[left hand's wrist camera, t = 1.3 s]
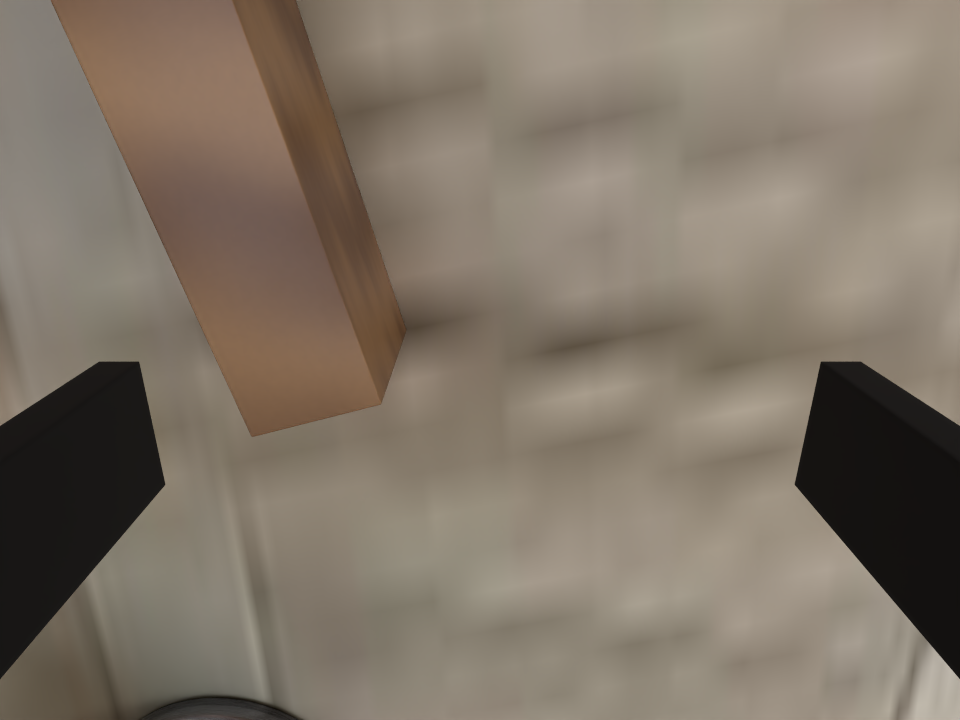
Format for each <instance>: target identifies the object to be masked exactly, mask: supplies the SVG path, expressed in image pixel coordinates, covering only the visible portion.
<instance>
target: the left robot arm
mask: <svg viewBox="0 0 960 720" xmlns="http://www.w3.org/2000/svg"><path fill="white" fill-rule="evenodd" d="M164 486H165V481H164V476H163V472H162V467H161V462H160V458H159V453H158V448H157V443H156V439H155V434H154V429H153V425H152V420H151V415H150V411H149V406H148V401H147V397H146V392H145V387H144V383H143V378H142V373H141V369H140V364H139V362H98V363H97V364H95V365H93V366H92V367H90V368H89V369H87V370H86V371H84V372H83V373H81V374H80V375H78V376H76V377H75V378H73V379H72V380H70V381H69V382H67V383H66V384H64V385H63V386H61V387H60V388H58V389H56V390H55V391H53V392H52V393H50V394H49V395H47V396H46V397H44V398H43V399H41V400H40V401H38V402H36V403H35V404H33V405H32V406H30V407H29V408H27V409H26V410H24V411H23V412H21V413H20V414H18V415H16V416H15V417H13V418H12V419H10V420H9V421H7V422H6V423H4V424H3V425H1V426H0V679H1V677H2V676H3V675H4V674H5V673H6V672H7V670H8V669H9V668H10V667H11V666H12V664H13V663H14V662H15V661H16V660H17V659H18V657H19V656H20V655H21V654H22V653H23V652H24V650H25V649H26V648H27V647H28V646H29V644H30V643H31V642H32V641H33V640H34V639H35V637H36V636H37V635H38V634H39V633H40V632H41V630H42V629H43V628H44V627H45V626H46V624H47V623H48V622H49V621H50V620H51V619H52V617H53V616H54V615H55V614H56V613H57V612H58V610H59V609H60V608H61V607H62V606H63V604H64V603H65V602H66V601H67V600H68V599H69V597H70V596H71V595H72V594H73V593H74V592H75V590H76V589H77V588H78V587H79V586H80V584H81V583H82V582H83V581H84V580H85V579H86V577H87V576H88V575H89V574H90V573H91V572H92V570H93V569H94V568H95V567H96V566H97V564H98V563H99V562H100V561H101V560H102V559H103V557H104V556H105V555H106V554H107V553H108V552H109V550H110V549H111V548H112V547H113V546H114V544H115V543H116V542H117V541H118V540H119V539H120V537H121V536H122V535H123V534H124V533H125V532H126V530H127V529H128V528H129V527H130V526H131V524H132V523H133V522H134V521H135V520H136V519H137V517H138V516H139V515H140V514H141V513H142V511H143V510H144V509H145V508H146V507H147V506H148V504H149V503H150V502H151V501H152V500H153V499H154V497H155V496H156V495H157V494H158V493H159V491H160V490H161V489H162V488H163V487H164ZM795 486H796V487H797V488H798V489H799V490H800V492H801V493H802V494H803V495H804V496H805V497H806V499H807V500H808V501H809V502H810V503H811V504H812V506H813V507H814V508H815V509H816V510H817V512H818V513H819V514H820V515H821V516H822V517H823V519H824V520H825V521H826V522H827V523H828V524H829V526H830V527H831V528H832V529H833V530H834V532H835V533H836V534H837V535H838V536H839V537H840V539H841V540H842V541H843V542H844V543H845V544H846V546H847V547H848V548H849V549H850V550H851V552H852V553H853V554H854V555H855V556H856V557H857V559H858V560H859V561H860V562H861V563H862V564H863V566H864V567H865V568H866V569H867V570H868V572H869V573H870V574H871V575H872V576H873V577H874V579H875V580H876V581H877V582H878V583H879V584H880V586H881V587H882V588H883V589H884V590H885V592H886V593H887V594H888V595H889V596H890V597H891V599H892V600H893V601H894V602H895V603H896V604H897V606H898V607H899V608H900V609H901V610H902V612H903V613H904V614H905V615H906V616H907V617H908V619H909V620H910V621H911V622H912V623H913V624H914V626H915V627H916V628H917V629H918V630H919V632H920V633H921V634H922V635H923V636H924V637H925V639H926V640H927V641H928V642H929V643H930V644H931V646H932V647H933V648H934V649H935V650H936V652H937V653H938V654H939V655H940V656H941V657H942V659H943V660H944V661H945V662H946V663H947V664H948V666H949V667H950V668H951V669H952V670H953V672H954V673H955V674H956V675H957V676H958V677H959V679H960V426H959V425H957V424H956V423H954V422H953V421H951V420H950V419H948V418H947V417H945V416H944V415H942V414H940V413H939V412H937V411H936V410H934V409H933V408H931V407H930V406H928V405H927V404H925V403H924V402H922V401H920V400H919V399H917V398H916V397H914V396H913V395H911V394H910V393H908V392H907V391H905V390H904V389H902V388H900V387H899V386H897V385H896V384H894V383H893V382H891V381H890V380H888V379H887V378H885V377H884V376H882V375H880V374H879V373H877V372H876V371H874V370H873V369H871V368H870V367H868V366H867V365H865V364H863V363H862V362H821V364H820V369H819V373H818V378H817V383H816V387H815V392H814V397H813V401H812V406H811V411H810V415H809V420H808V425H807V429H806V434H805V439H804V443H803V448H802V453H801V458H800V462H799V467H798V472H797V476H796V481H795ZM141 720H297V719H295V718H293V717H291V716H289V715H287V714H285V713H283V712H280V711H278V710H276V709H273V708H270V707H267V706H264V705H260V704H256V703H253V702H247V701H242V700H234V699H222V698H205V699H194V700H188V701H182V702H179V703H175V704H171V705H168V706H165V707H163V708H160V709H158V710H156V711H154V712H152V713H150V714H149V715H147V716H145V717H144V718H142V719H141Z"/></svg>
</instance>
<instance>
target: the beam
mask: <svg viewBox="0 0 960 720" xmlns="http://www.w3.org/2000/svg"><path fill="white" fill-rule="evenodd" d="M51 2H52V4H53V6H54V8H55V10H56V13H57V15H58V17H59V19H60V21H61V24H62V26H63V28H64V30H65V32H66V34H67V37H68V39H69V41H70V43H71V45H72V47H73V50H74V52H75V54H76V56H77V58H78V60H79V63H80V65H81V67H82V69H83V71H84V73H85V76H86V78H87V80H88V82H89V84H90V87H91V89H92V91H93V93H94V95H95V97H96V100H97V102H98V104H99V106H100V108H101V110H102V113H103V115H104V117H105V119H106V121H107V123H108V126H109V128H110V130H111V132H112V134H113V136H114V139H115V141H116V143H117V145H118V147H119V150H120V152H121V154H122V156H123V158H124V160H125V163H126V165H127V167H128V169H129V171H130V173H131V176H132V178H133V180H134V182H135V184H136V186H137V189H138V191H139V193H140V195H141V197H142V200H143V202H144V204H145V206H146V208H147V210H148V213H149V215H150V217H151V219H152V221H153V223H154V226H155V228H156V230H157V232H158V234H159V236H160V239H161V241H162V243H163V245H164V247H165V249H166V252H167V254H168V256H169V258H170V260H171V263H172V265H173V267H174V269H175V271H176V273H177V276H178V278H179V280H180V282H181V284H182V286H183V289H184V291H185V293H186V295H187V297H188V299H189V302H190V304H191V306H192V308H193V310H194V312H195V315H196V317H197V319H198V321H199V323H200V326H201V328H202V330H203V332H204V334H205V336H206V339H207V341H208V343H209V345H210V347H211V349H212V352H213V354H214V356H215V358H216V360H217V362H218V365H219V367H220V369H221V371H222V373H223V375H224V378H225V380H226V382H227V384H228V386H229V389H230V391H231V393H232V395H233V397H234V399H235V402H236V404H237V406H238V408H239V410H240V412H241V415H242V417H243V419H244V421H245V423H246V425H247V428H248V430H249V432H250V434H251V436H252V437H254V436H258V435H262V434H266V433H270V432H274V431H278V430H282V429H285V428H289V427H293V426H297V425H301V424H305V423H309V422H313V421H317V420H321V419H325V418H329V417H333V416H337V415H341V414H345V413H349V412H353V411H357V410H361V409H364V408H368V407H372V406H376V405H380V404H381V403H382V400H383V397H384V394H385V391H386V389H387V386H388V383H389V380H390V377H391V374H392V371H393V368H394V365H395V362H396V359H397V356H398V353H399V350H400V347H401V345H402V342H403V339H404V336H405V333H406V328H405V325H404V322H403V319H402V316H401V313H400V310H399V307H398V304H397V301H396V298H395V295H394V292H393V289H392V286H391V283H390V280H389V277H388V274H387V271H386V268H385V265H384V263H383V260H382V257H381V254H380V251H379V248H378V245H377V242H376V239H375V236H374V233H373V230H372V227H371V224H370V221H369V218H368V215H367V212H366V209H365V206H364V203H363V200H362V197H361V194H360V191H359V188H358V185H357V182H356V179H355V176H354V173H353V170H352V167H351V164H350V161H349V158H348V155H347V152H346V149H345V146H344V143H343V140H342V137H341V134H340V131H339V128H338V125H337V122H336V119H335V116H334V113H333V110H332V107H331V104H330V101H329V99H328V96H327V93H326V90H325V87H324V84H323V81H322V78H321V75H320V72H319V69H318V66H317V63H316V60H315V57H314V54H313V51H312V48H311V45H310V42H309V39H308V36H307V33H306V30H305V27H304V24H303V21H302V18H301V15H300V12H299V9H298V6H297V3H296V0H51Z"/></svg>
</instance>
